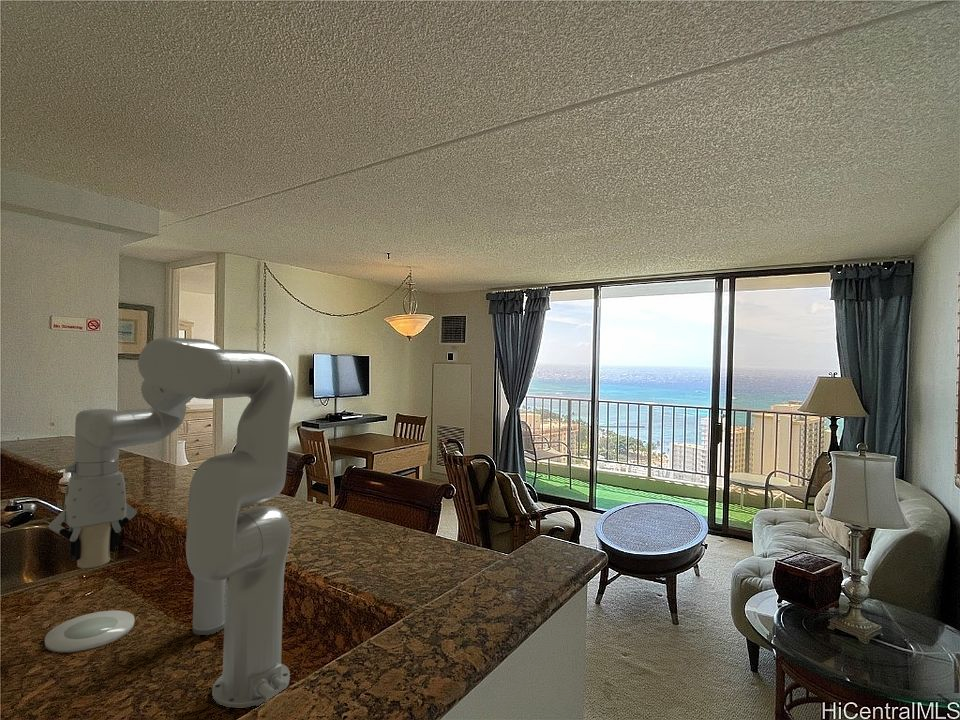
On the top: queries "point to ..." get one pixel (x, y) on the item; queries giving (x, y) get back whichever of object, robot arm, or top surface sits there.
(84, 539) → the candle
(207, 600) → the travel mug
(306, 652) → the top surface
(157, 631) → the top surface
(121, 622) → the ceramic plate
